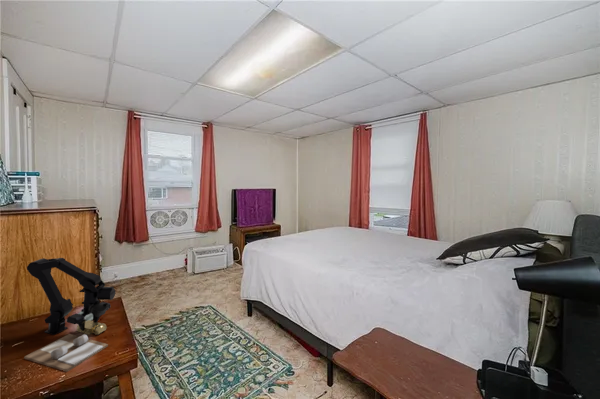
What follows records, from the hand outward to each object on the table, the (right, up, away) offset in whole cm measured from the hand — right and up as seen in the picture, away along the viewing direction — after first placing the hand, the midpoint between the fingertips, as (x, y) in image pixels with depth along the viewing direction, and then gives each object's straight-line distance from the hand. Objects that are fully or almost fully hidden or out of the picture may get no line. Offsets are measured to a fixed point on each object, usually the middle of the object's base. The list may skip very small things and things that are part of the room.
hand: (89, 327), depth 134 cm
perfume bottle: (+2, -2, 0) cm, 3 cm away
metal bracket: (-10, 0, +11) cm, 15 cm away
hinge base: (+5, -3, -17) cm, 18 cm away
